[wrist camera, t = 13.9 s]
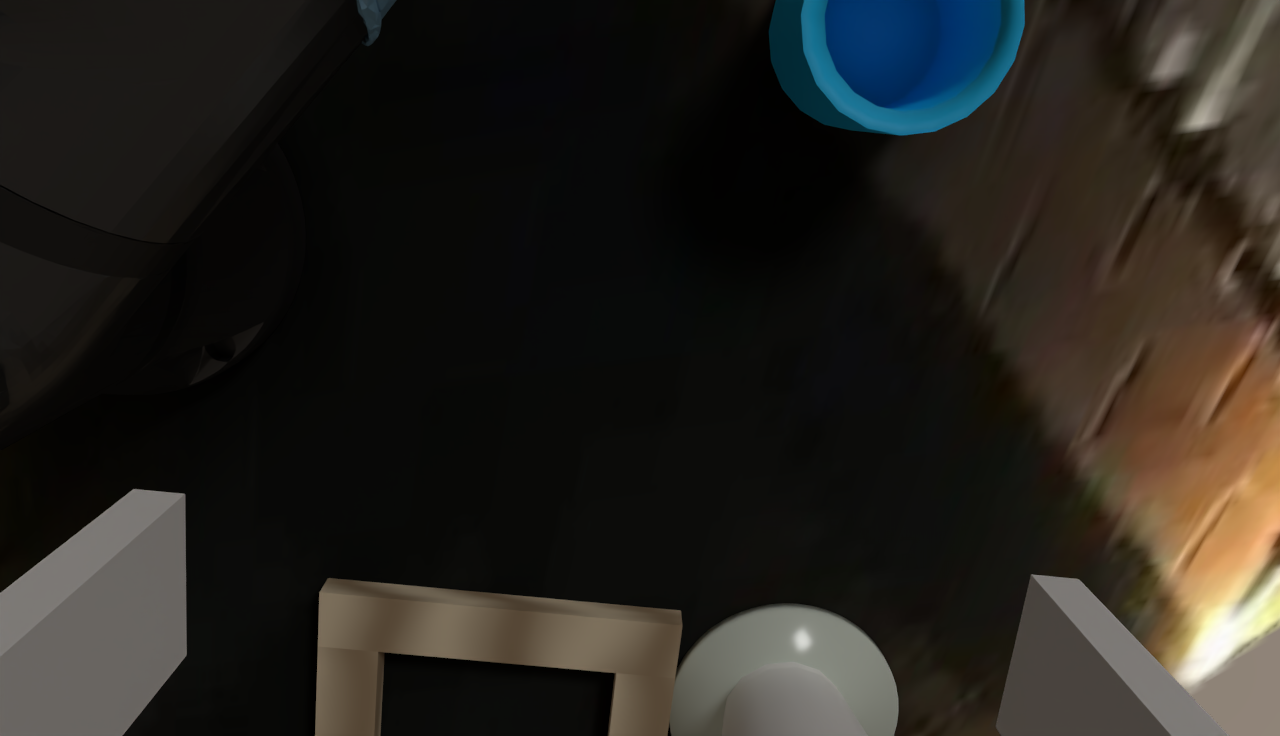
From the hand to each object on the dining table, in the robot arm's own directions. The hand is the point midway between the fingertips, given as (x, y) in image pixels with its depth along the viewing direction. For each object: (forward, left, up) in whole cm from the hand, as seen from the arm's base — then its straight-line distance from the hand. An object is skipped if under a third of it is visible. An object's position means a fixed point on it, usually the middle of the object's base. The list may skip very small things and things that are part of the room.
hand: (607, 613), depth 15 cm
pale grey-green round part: (+11, -22, -32) cm, 40 cm away
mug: (+11, +13, -32) cm, 36 cm away
